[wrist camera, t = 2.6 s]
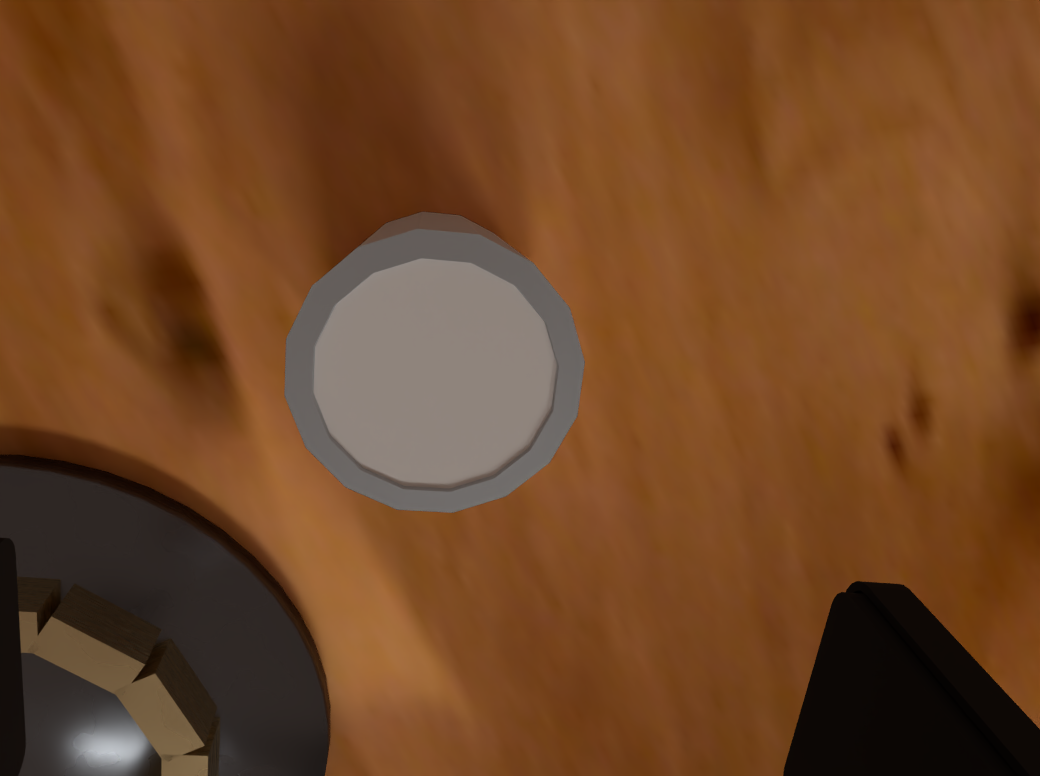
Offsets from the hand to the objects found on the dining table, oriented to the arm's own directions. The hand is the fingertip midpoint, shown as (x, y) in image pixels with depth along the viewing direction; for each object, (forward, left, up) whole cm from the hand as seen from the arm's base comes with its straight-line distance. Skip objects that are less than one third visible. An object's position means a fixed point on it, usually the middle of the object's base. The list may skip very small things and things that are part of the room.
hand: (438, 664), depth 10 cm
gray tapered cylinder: (0, 0, -18) cm, 18 cm away
